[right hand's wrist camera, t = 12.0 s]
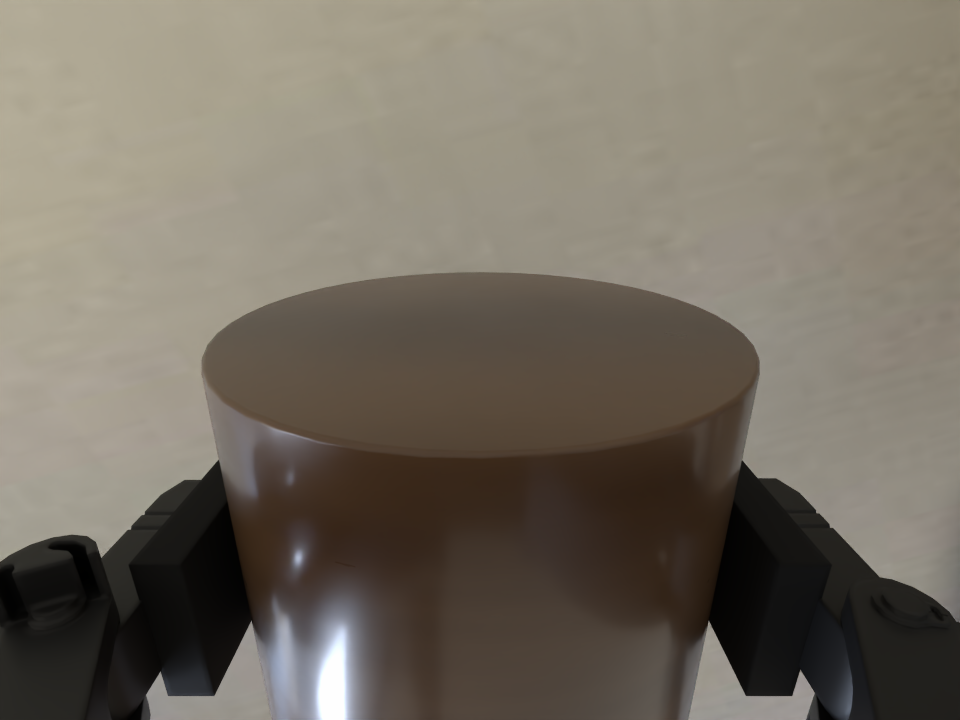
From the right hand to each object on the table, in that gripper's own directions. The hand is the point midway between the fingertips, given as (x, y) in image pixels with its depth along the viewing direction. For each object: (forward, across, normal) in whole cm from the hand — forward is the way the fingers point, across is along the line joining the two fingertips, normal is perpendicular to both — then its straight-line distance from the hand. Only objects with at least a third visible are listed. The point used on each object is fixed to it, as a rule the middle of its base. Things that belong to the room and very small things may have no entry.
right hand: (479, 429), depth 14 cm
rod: (+1, 0, -7) cm, 7 cm away
